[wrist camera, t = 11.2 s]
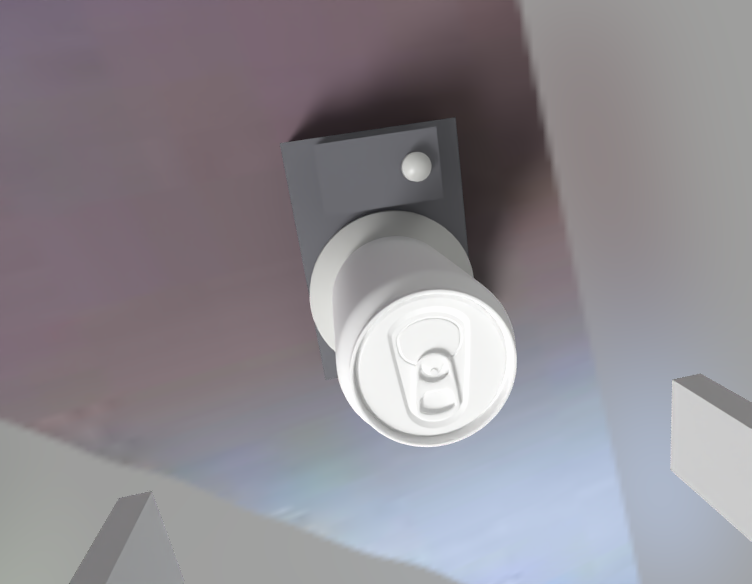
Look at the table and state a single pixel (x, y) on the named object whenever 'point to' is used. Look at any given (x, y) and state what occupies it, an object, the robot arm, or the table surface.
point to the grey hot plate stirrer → (372, 203)
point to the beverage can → (419, 343)
